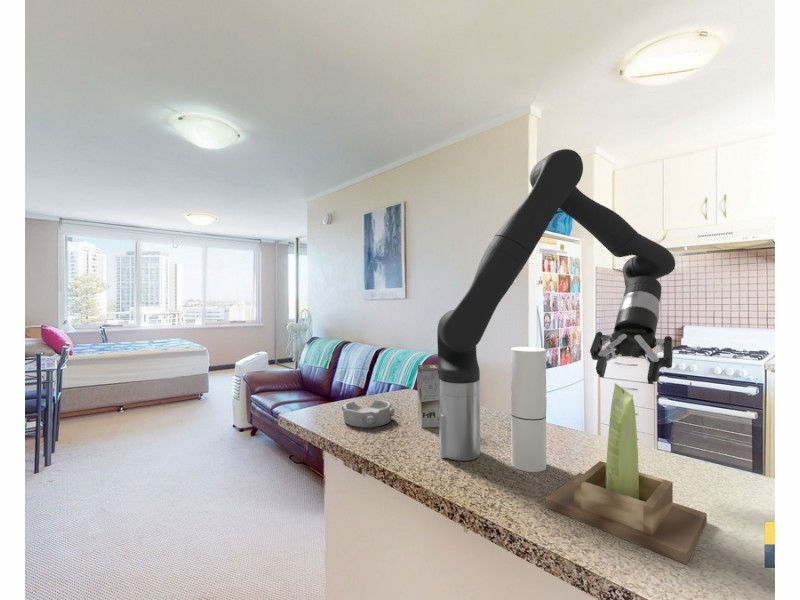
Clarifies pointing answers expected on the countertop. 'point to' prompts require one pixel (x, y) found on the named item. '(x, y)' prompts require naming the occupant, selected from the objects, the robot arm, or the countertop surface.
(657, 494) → the wooden box on board
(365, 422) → the dish
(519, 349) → the cylindrical container
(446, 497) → the countertop surface
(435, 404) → the coffee box
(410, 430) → the countertop surface
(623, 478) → the tube
